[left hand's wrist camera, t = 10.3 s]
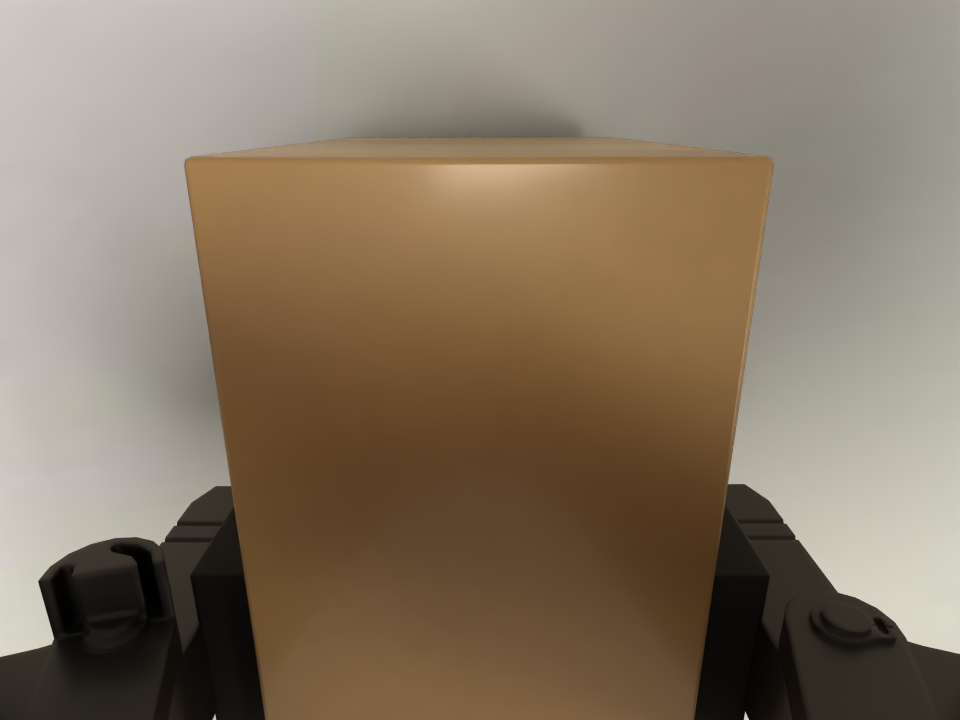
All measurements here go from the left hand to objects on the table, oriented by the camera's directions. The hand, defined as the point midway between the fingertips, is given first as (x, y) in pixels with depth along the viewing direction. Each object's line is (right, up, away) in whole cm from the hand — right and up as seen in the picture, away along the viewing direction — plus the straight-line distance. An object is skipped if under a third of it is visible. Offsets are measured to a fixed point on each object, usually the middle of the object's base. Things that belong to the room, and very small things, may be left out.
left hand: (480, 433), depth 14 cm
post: (0, -26, +10) cm, 28 cm away
